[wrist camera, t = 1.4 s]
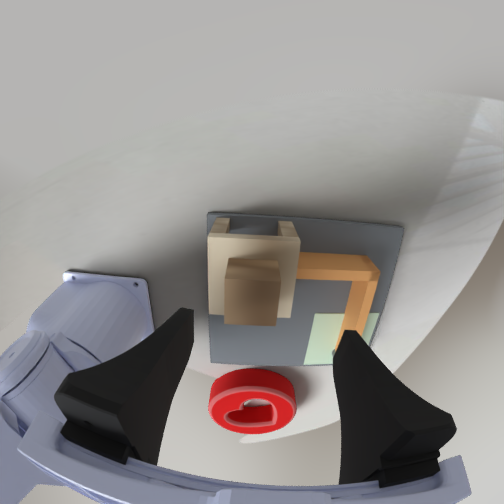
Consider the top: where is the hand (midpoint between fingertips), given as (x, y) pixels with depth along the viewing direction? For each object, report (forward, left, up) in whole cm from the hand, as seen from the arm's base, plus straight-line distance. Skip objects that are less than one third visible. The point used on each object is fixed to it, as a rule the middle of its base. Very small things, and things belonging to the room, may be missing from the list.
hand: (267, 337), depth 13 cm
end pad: (+8, -9, -11) cm, 16 cm away
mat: (+4, -5, -11) cm, 12 cm away
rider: (-1, 0, -10) cm, 10 cm away
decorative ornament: (0, -18, -11) cm, 21 cm away
